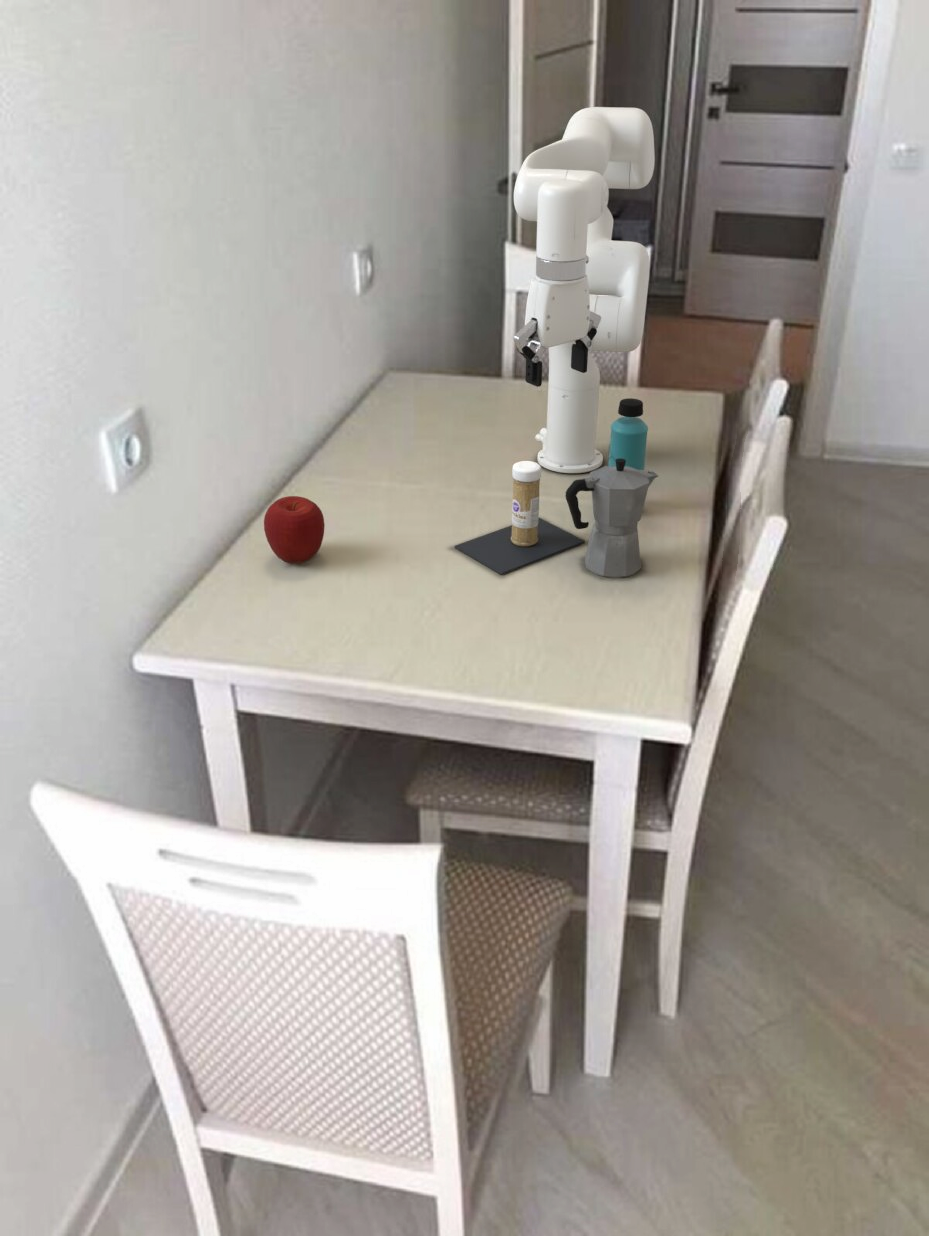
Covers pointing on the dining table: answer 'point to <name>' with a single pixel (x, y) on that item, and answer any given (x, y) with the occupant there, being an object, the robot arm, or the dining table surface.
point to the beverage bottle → (629, 435)
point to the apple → (294, 528)
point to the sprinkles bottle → (525, 503)
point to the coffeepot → (612, 517)
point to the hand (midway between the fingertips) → (556, 377)
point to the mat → (517, 547)
